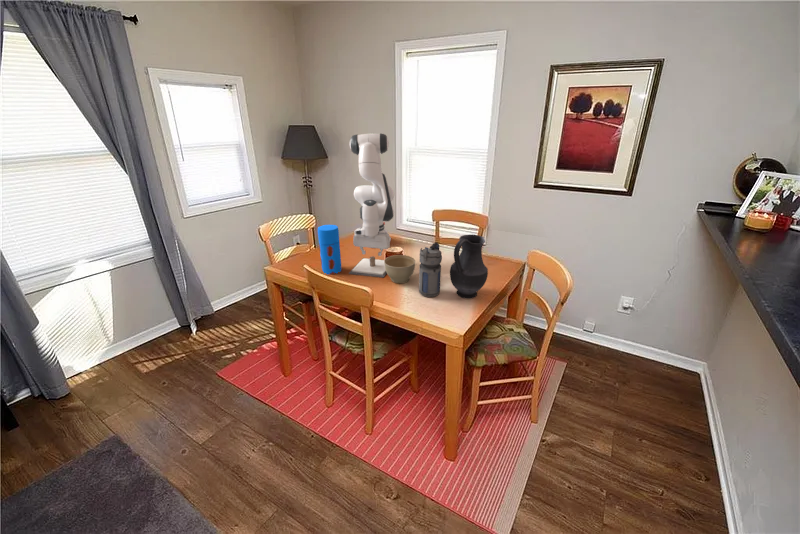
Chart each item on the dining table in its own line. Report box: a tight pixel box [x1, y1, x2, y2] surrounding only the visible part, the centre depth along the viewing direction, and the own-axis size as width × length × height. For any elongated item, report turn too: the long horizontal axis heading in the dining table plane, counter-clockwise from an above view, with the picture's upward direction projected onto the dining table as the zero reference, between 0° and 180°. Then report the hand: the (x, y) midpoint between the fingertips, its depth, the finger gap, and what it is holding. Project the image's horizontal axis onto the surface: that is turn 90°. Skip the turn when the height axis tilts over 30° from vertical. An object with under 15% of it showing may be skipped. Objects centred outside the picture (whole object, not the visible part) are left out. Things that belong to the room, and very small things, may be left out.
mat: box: [348, 257, 388, 279], centre depth 196 cm, size 22×20×1 cm
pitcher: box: [449, 234, 489, 300], centre depth 159 cm, size 17×21×30 cm
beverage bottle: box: [418, 241, 443, 298], centre depth 163 cm, size 10×13×25 cm
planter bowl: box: [383, 254, 416, 284], centre depth 179 cm, size 16×16×11 cm
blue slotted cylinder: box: [317, 224, 342, 275], centre depth 188 cm, size 11×11×25 cm
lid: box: [351, 256, 386, 275], centre depth 194 cm, size 18×18×6 cm
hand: (371, 254), depth 192 cm, fingers open, 8 cm apart
